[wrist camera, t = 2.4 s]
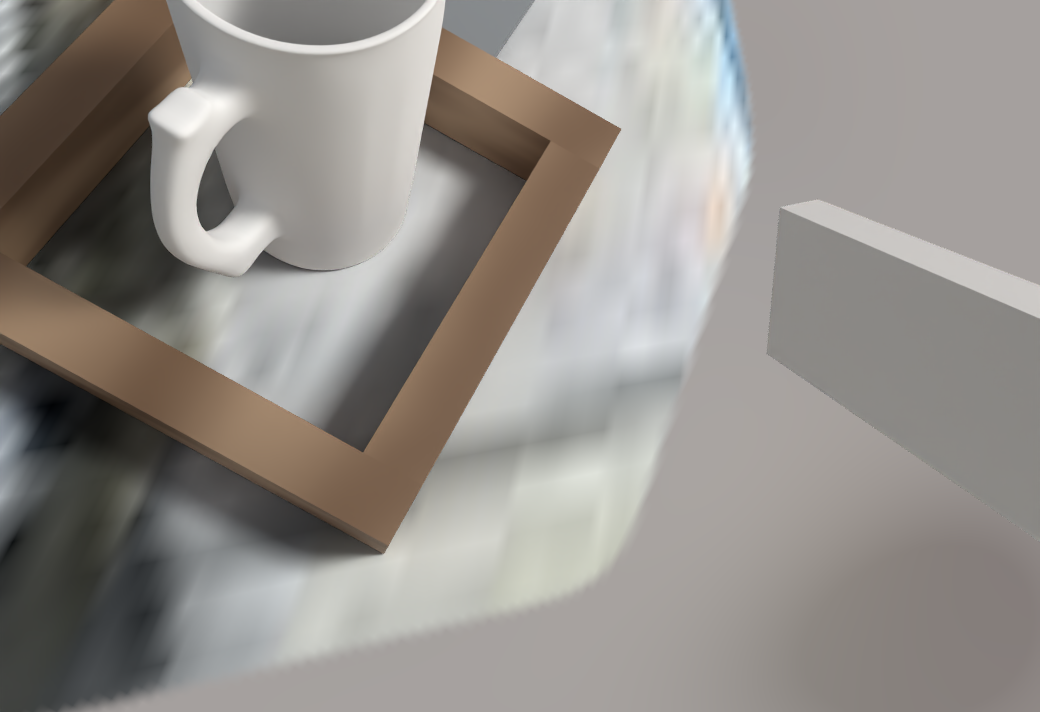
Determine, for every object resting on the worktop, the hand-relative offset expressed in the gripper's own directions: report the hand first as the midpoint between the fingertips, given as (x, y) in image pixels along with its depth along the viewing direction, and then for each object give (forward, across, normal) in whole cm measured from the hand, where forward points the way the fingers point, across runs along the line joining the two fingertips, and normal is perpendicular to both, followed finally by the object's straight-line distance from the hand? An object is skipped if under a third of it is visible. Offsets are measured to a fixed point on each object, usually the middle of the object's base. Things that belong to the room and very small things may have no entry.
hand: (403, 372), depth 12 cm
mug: (+18, 0, -4) cm, 19 cm away
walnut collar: (+18, 0, -3) cm, 19 cm away
